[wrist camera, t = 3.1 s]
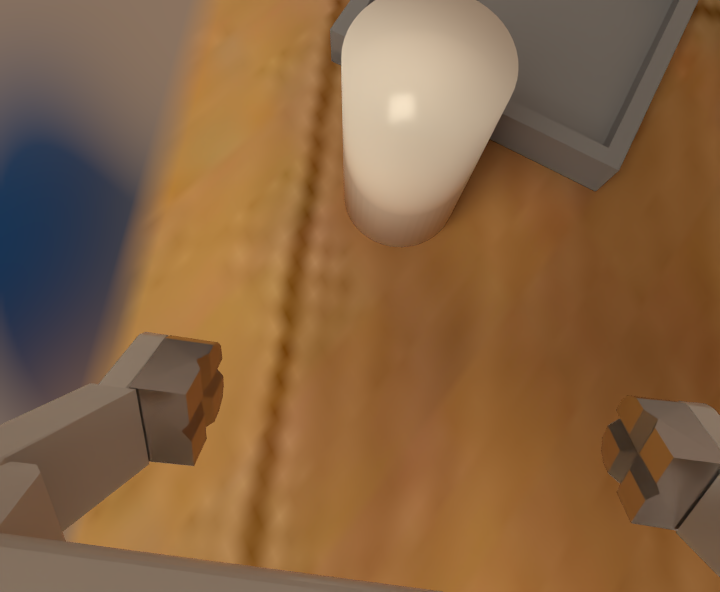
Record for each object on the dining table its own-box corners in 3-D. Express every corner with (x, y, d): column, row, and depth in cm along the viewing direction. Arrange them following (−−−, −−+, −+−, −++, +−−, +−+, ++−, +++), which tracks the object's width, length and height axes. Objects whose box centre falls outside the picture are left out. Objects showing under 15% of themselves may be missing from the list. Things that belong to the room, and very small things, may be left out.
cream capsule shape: (471, 176, 28) (546, 32, 18) (422, 266, 27) (471, 169, 16) (377, 129, 29) (394, -39, 18) (323, 214, 27) (307, 86, 17)
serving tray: (686, 0, 32) (714, -35, 29) (595, 191, 28) (618, 170, 26) (445, -107, 33) (453, -148, 31) (331, 60, 30) (330, 29, 27)
